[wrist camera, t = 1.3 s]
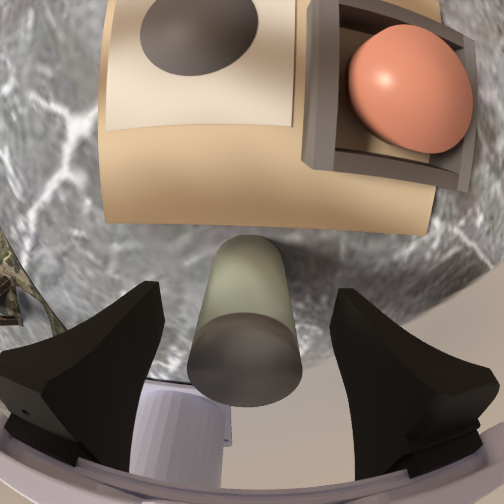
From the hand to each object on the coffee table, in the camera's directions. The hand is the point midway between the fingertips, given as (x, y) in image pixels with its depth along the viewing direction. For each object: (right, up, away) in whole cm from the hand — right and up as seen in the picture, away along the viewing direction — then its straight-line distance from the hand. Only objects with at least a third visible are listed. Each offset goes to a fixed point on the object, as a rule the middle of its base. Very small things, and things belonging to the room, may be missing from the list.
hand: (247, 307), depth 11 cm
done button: (+6, +8, -3) cm, 11 cm away
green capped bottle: (0, +1, +3) cm, 4 cm away
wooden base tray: (+1, +10, -1) cm, 10 cm away
